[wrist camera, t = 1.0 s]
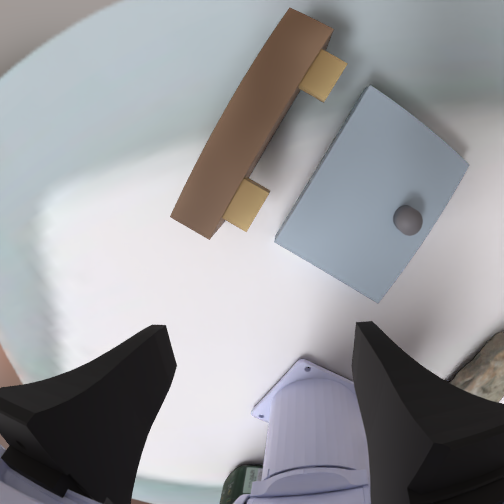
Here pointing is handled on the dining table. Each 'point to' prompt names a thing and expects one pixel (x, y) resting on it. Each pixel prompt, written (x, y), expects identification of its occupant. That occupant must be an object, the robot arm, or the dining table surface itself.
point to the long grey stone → (485, 371)
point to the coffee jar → (240, 483)
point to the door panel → (373, 196)
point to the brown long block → (256, 124)
